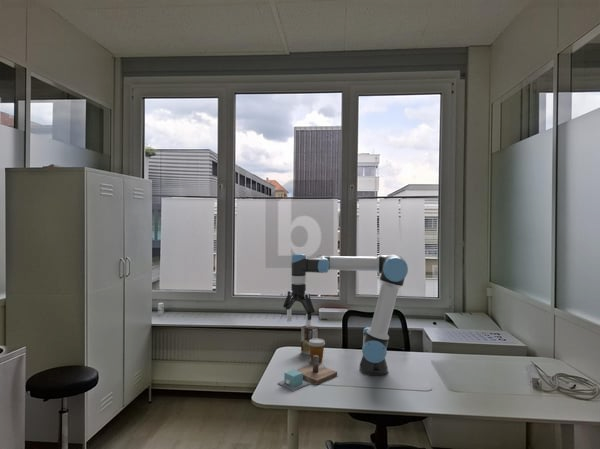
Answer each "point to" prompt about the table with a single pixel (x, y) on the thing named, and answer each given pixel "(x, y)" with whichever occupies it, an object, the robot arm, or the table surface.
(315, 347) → the disposable coffee cup
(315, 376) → the brown square board
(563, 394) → the table surface
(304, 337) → the coffee box
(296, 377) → the teal matte cube
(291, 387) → the mat
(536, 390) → the table surface
